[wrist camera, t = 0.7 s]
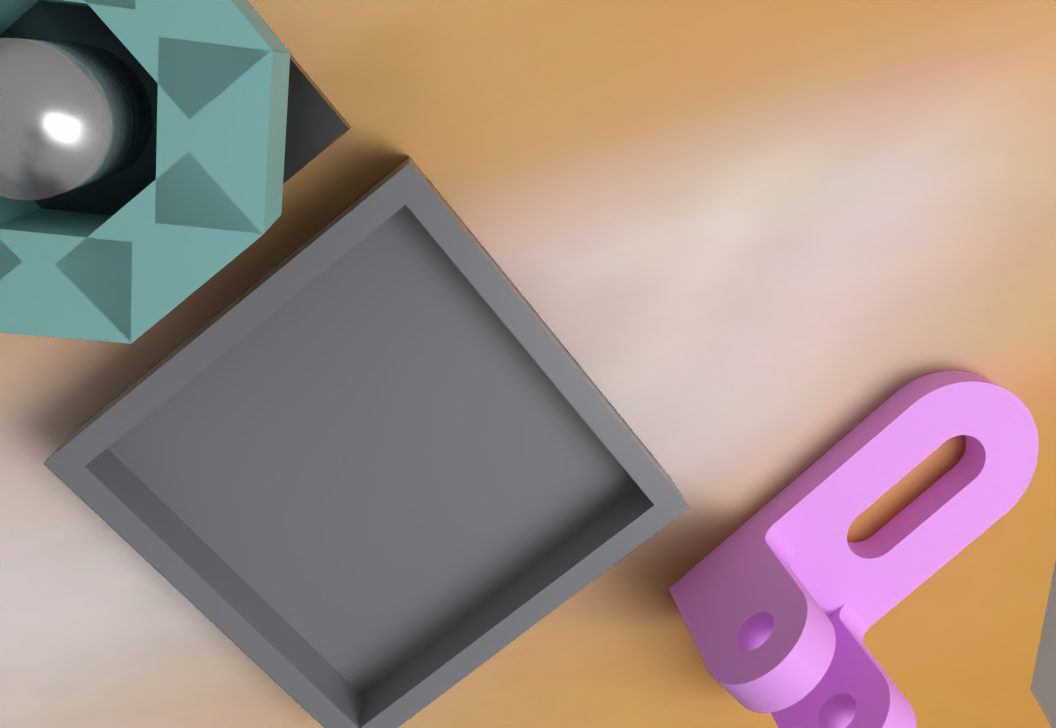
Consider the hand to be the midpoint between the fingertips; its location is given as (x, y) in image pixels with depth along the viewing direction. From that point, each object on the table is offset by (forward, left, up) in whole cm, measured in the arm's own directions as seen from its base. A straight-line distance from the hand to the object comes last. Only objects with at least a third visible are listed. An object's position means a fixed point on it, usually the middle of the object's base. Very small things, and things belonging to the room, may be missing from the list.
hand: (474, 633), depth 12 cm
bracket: (+6, -16, -21) cm, 27 cm away
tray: (-5, -3, -20) cm, 21 cm away
